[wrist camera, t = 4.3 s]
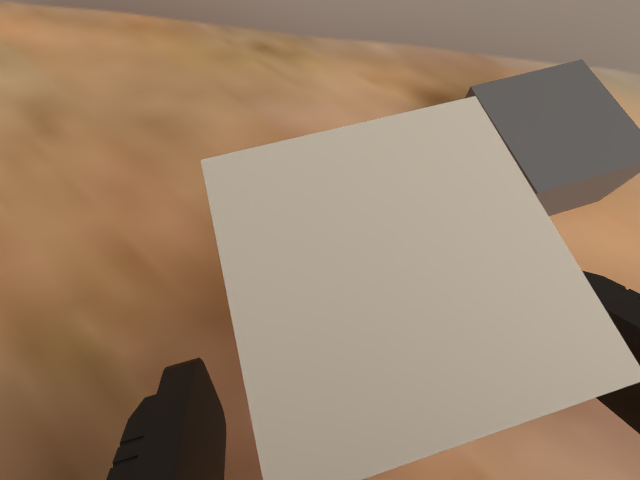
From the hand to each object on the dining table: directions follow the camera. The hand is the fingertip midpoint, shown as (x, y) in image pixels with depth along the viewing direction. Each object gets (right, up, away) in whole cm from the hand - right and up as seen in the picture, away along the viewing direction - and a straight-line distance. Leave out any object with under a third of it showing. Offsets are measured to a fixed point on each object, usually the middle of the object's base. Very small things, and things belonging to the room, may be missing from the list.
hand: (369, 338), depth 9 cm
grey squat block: (+10, +6, +11) cm, 16 cm away
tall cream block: (0, -3, +7) cm, 7 cm away
